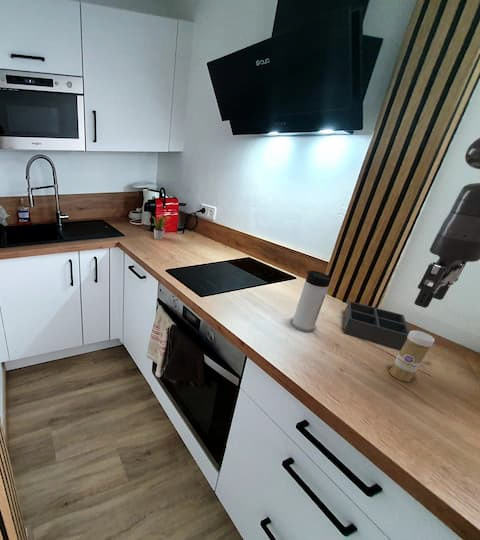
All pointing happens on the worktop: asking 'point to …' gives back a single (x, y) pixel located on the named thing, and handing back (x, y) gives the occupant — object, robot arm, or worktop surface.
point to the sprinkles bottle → (411, 355)
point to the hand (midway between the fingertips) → (428, 301)
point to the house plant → (159, 227)
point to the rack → (375, 325)
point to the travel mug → (311, 301)
